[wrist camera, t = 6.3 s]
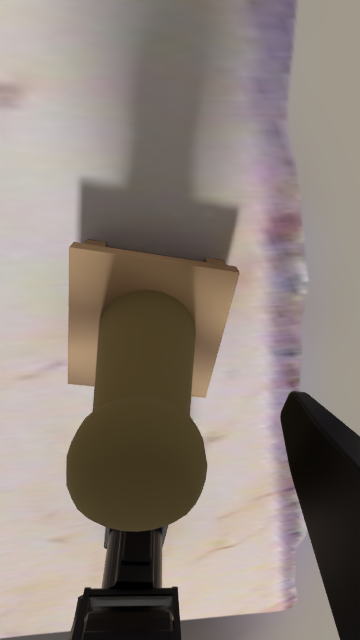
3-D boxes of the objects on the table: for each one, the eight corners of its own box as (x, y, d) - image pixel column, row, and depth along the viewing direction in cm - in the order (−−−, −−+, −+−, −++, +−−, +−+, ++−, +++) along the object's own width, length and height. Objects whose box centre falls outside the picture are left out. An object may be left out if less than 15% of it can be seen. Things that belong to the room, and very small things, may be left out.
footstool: (201, 371, 26) (205, 397, 23) (78, 357, 25) (67, 383, 22) (230, 256, 21) (239, 272, 19) (81, 232, 20) (69, 247, 18)
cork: (178, 276, 19) (196, 424, 9) (206, 358, 22) (242, 535, 12) (81, 307, 19) (2, 475, 10) (121, 382, 22) (90, 569, 13)
